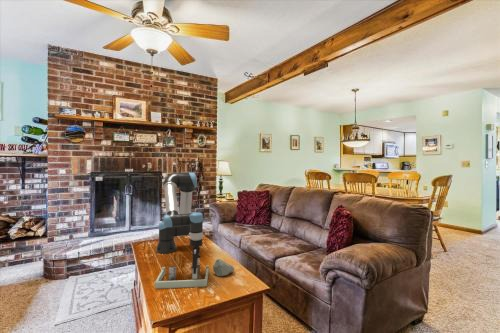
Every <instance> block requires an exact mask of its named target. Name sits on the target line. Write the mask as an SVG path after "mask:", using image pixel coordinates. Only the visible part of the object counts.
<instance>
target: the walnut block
mask: <svg viewBox="0 0 500 333" xmlns="http://www.w3.org/2000/svg"><path fill="white" fill-rule="evenodd" d="M200 279H201V264H199V265H197V279H192V278H191V280H200Z"/></svg>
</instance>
